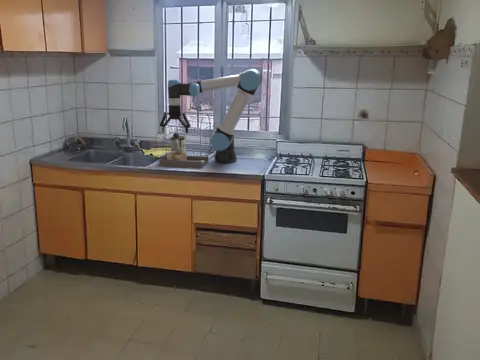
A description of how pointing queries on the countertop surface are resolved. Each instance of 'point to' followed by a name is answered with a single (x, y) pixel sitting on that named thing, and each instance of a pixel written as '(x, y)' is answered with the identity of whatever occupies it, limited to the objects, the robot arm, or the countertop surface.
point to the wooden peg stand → (176, 151)
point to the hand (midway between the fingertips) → (175, 137)
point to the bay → (184, 161)
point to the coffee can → (179, 144)
